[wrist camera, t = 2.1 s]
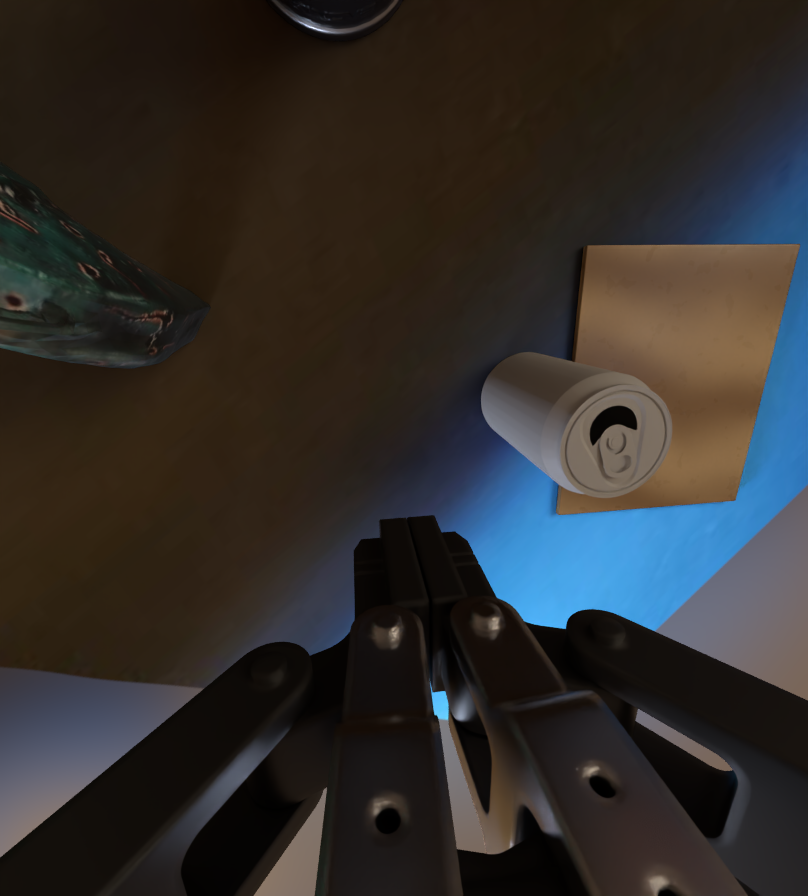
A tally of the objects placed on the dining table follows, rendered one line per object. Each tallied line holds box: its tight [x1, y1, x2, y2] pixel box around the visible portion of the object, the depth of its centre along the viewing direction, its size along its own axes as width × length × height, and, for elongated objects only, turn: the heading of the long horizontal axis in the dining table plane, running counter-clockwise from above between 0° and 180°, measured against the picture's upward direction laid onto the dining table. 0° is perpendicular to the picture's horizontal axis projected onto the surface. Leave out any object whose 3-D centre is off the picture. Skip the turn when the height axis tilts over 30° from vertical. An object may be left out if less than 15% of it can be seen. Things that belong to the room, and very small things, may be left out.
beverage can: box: [481, 352, 672, 498], centre depth 25 cm, size 6×6×12 cm
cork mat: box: [556, 244, 800, 515], centre depth 32 cm, size 20×16×1 cm
